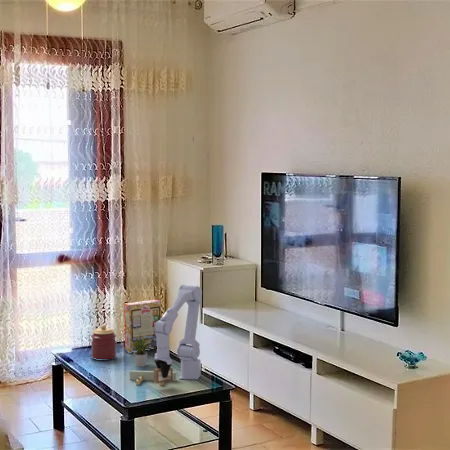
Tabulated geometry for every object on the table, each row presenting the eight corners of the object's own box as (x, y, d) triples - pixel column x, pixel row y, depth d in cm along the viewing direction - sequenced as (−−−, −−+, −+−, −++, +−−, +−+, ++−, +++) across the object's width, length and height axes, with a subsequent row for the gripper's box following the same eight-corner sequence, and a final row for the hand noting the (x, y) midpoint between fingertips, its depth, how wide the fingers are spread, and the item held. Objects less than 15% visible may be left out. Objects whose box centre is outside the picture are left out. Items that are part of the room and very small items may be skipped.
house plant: (133, 371, 356) (133, 338, 355) (120, 365, 368) (119, 333, 367) (158, 366, 365) (158, 334, 364) (144, 360, 376) (144, 330, 375)
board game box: (156, 346, 408) (156, 299, 406) (162, 348, 403) (162, 300, 401) (124, 351, 396) (124, 302, 394) (129, 354, 391) (129, 304, 389)
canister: (86, 357, 383) (86, 324, 382) (107, 353, 391) (107, 321, 390) (100, 362, 373) (99, 328, 372) (121, 358, 382) (120, 325, 381)
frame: (169, 379, 332) (169, 366, 332) (172, 380, 329) (172, 368, 329) (153, 381, 328) (153, 368, 328) (156, 383, 325) (156, 370, 325)
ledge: (176, 380, 341) (176, 371, 340) (172, 385, 331) (172, 377, 331) (130, 378, 343) (130, 370, 343) (125, 384, 333) (125, 376, 333)
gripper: (148, 344, 332) (148, 373, 333) (161, 351, 319) (161, 381, 320) (162, 342, 335) (162, 371, 336) (176, 349, 323) (176, 379, 324)
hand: (163, 376), depth 328 cm, fingers closed on frame, 3 cm apart
